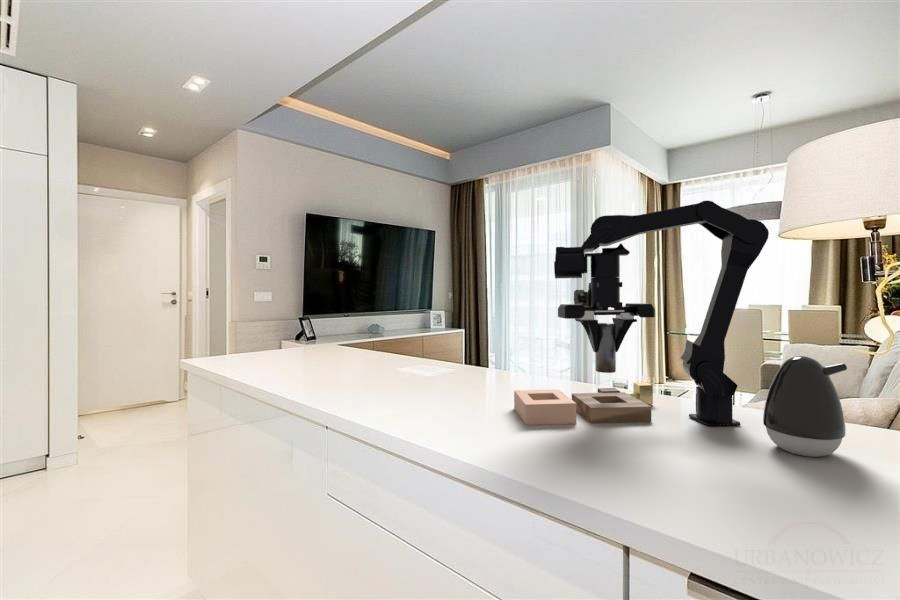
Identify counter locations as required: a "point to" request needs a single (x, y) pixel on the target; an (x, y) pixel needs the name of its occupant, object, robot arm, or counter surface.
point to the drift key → (643, 392)
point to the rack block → (544, 407)
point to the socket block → (611, 407)
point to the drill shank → (606, 348)
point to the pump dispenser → (805, 408)
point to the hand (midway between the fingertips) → (605, 351)
